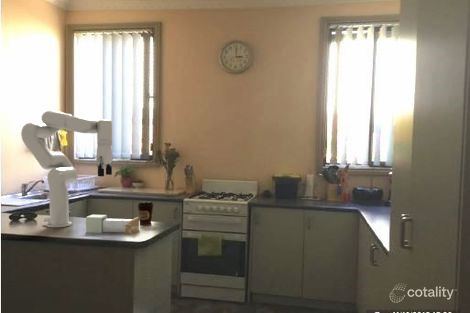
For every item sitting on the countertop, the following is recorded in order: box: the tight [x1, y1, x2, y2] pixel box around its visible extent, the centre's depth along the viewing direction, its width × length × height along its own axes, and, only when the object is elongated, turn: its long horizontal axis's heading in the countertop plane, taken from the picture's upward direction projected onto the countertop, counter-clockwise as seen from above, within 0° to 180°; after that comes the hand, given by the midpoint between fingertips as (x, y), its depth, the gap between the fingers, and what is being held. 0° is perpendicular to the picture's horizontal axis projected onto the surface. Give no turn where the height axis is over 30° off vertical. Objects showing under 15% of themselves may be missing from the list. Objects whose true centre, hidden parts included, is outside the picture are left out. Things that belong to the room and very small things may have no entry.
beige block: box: [124, 216, 140, 235], centre depth 215 cm, size 4×9×7 cm, turn 173°
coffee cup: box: [137, 200, 154, 227], centre depth 233 cm, size 9×8×13 cm
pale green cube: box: [85, 214, 108, 234], centre depth 217 cm, size 8×7×8 cm
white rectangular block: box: [102, 218, 134, 234], centre depth 216 cm, size 17×4×6 cm, turn 83°
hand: (105, 175), depth 222 cm, fingers open, 9 cm apart
